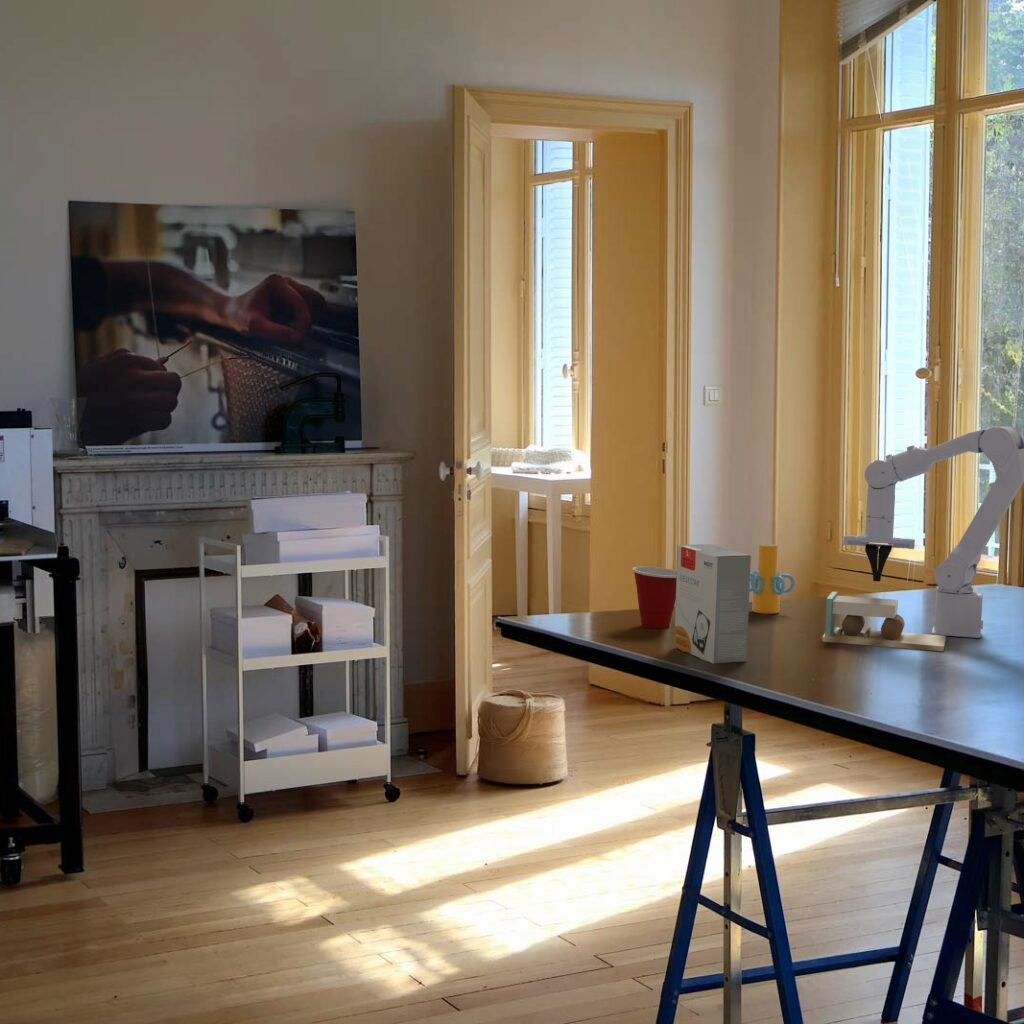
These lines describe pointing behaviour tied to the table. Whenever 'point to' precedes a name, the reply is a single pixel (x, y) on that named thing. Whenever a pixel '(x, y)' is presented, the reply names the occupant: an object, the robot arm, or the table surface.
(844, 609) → the slab
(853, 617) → the roller
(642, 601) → the plastic cup
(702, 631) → the hard drive box
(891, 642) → the roller bed
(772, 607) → the cylinder
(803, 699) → the table surface
